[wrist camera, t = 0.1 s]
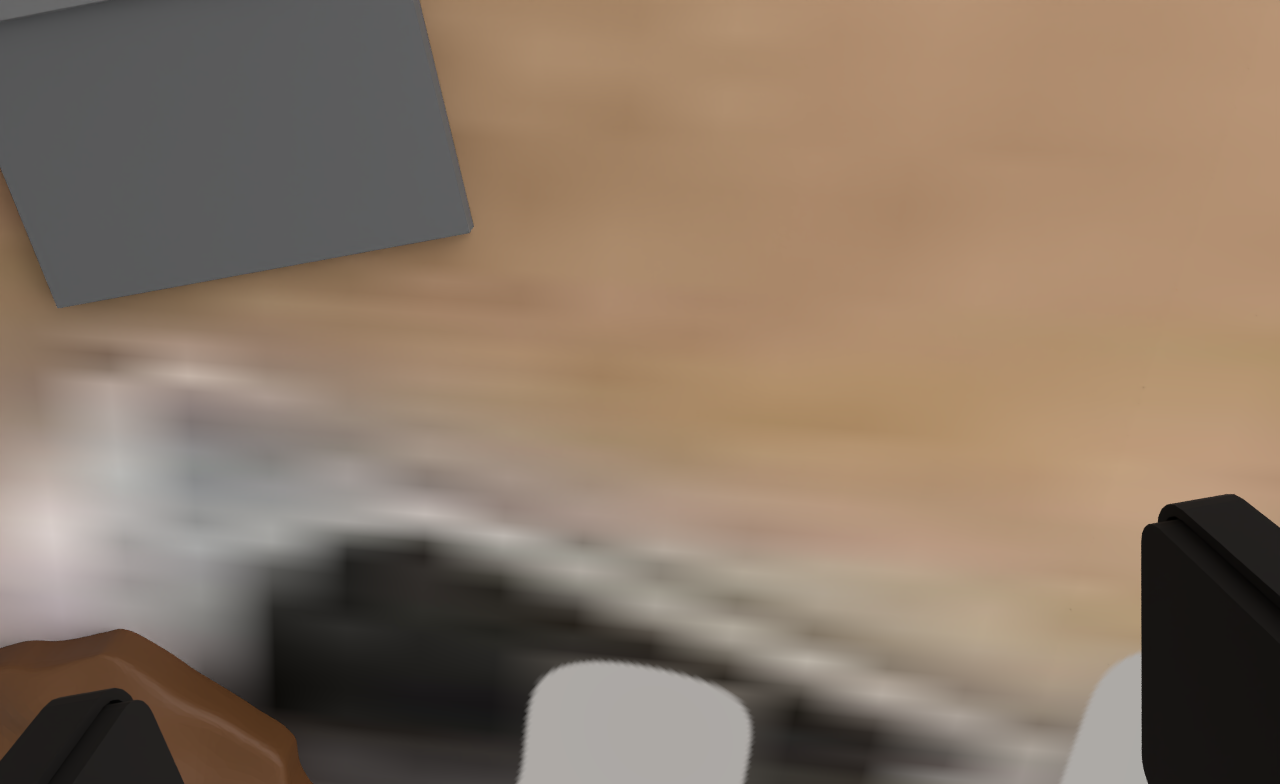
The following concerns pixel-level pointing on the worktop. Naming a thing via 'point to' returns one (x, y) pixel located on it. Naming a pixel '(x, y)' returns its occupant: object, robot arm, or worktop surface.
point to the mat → (220, 137)
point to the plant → (151, 705)
